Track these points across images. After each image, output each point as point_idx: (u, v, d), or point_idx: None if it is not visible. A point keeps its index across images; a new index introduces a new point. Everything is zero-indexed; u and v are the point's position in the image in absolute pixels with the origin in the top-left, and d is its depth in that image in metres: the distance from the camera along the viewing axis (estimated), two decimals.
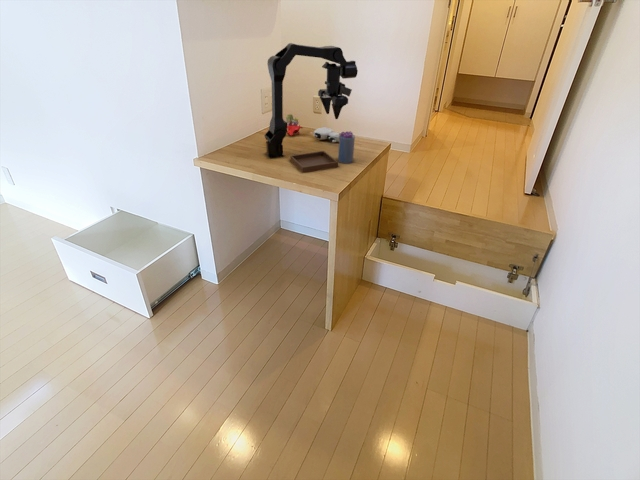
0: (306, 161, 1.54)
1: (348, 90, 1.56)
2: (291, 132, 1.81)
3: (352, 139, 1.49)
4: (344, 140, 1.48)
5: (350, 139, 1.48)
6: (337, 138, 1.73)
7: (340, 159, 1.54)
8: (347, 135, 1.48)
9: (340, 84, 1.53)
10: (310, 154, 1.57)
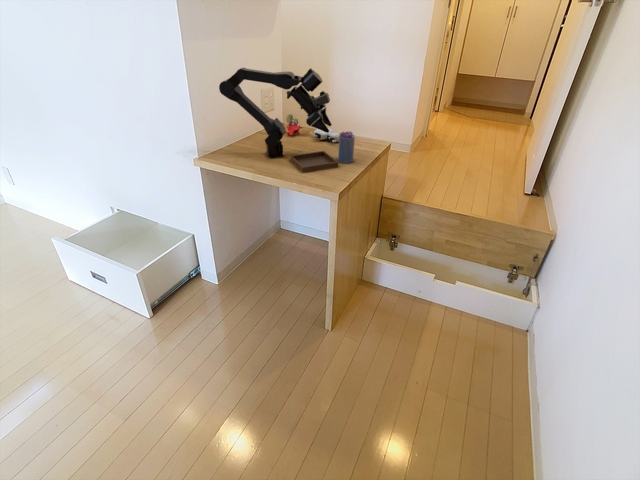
0: (306, 161, 1.54)
1: (322, 98, 1.41)
2: (291, 132, 1.81)
3: (352, 139, 1.49)
4: (344, 140, 1.48)
5: (350, 139, 1.48)
6: (337, 138, 1.73)
7: (340, 159, 1.54)
8: (347, 135, 1.48)
9: (310, 100, 1.42)
10: (310, 154, 1.57)
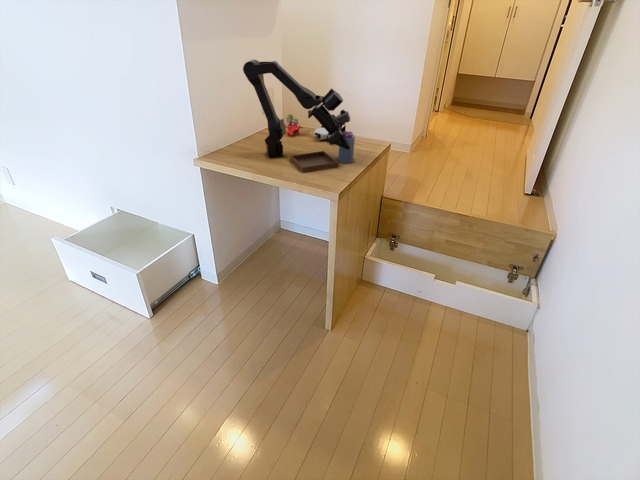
0: (306, 161, 1.54)
1: (343, 117, 1.44)
2: (291, 132, 1.81)
3: (352, 139, 1.49)
4: None
5: (350, 139, 1.48)
6: None
7: (340, 159, 1.54)
8: (347, 135, 1.48)
9: (331, 119, 1.45)
10: (310, 154, 1.57)
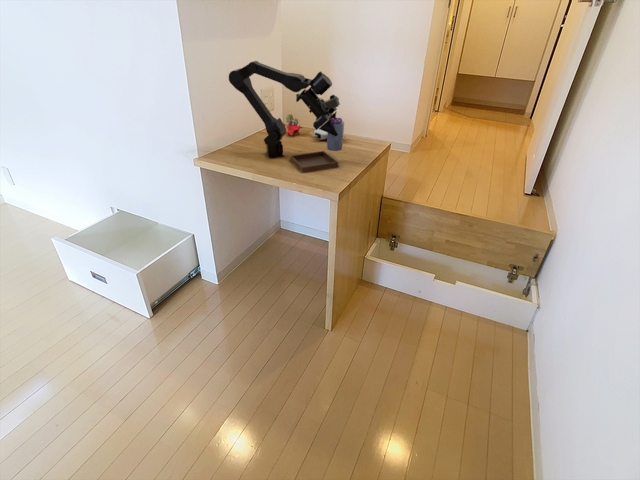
0: (306, 161, 1.54)
1: (331, 102, 1.39)
2: (291, 132, 1.81)
3: (340, 125, 1.43)
4: None
5: (338, 125, 1.43)
6: None
7: (328, 146, 1.49)
8: (335, 121, 1.43)
9: (319, 103, 1.40)
10: (310, 154, 1.57)
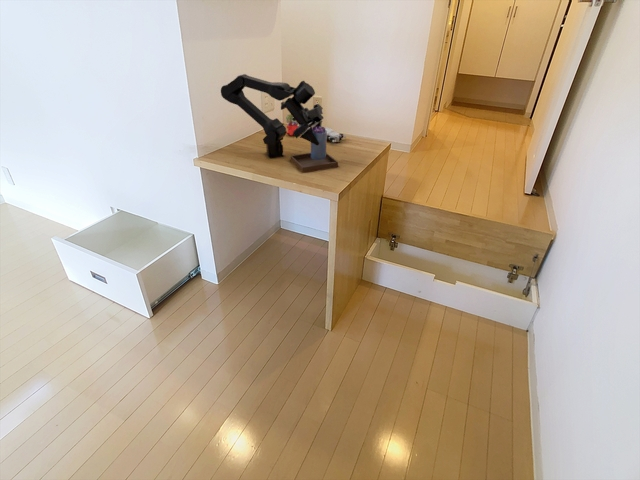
0: (306, 161, 1.54)
1: (312, 111, 1.40)
2: (291, 132, 1.81)
3: (322, 135, 1.43)
4: (314, 135, 1.44)
5: (319, 134, 1.43)
6: (337, 138, 1.73)
7: (311, 155, 1.50)
8: (317, 130, 1.43)
9: (301, 112, 1.42)
10: (310, 154, 1.57)
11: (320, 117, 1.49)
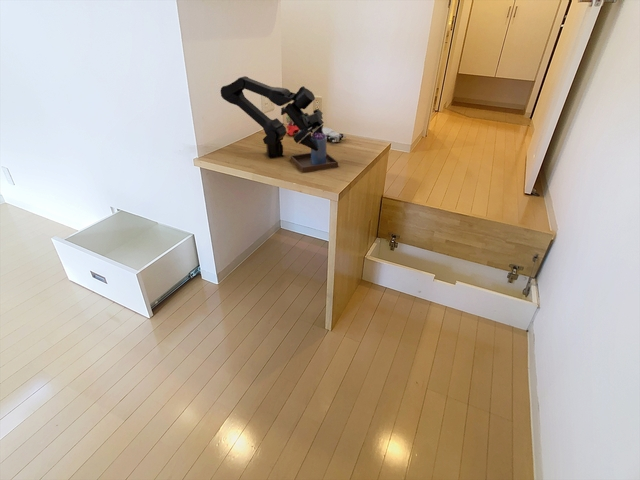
0: (306, 161, 1.54)
1: (312, 116, 1.41)
2: (291, 132, 1.81)
3: (322, 141, 1.45)
4: (314, 141, 1.45)
5: (319, 141, 1.45)
6: (337, 138, 1.73)
7: (311, 161, 1.51)
8: (317, 136, 1.45)
9: (301, 117, 1.43)
10: (310, 154, 1.57)
11: (320, 122, 1.50)
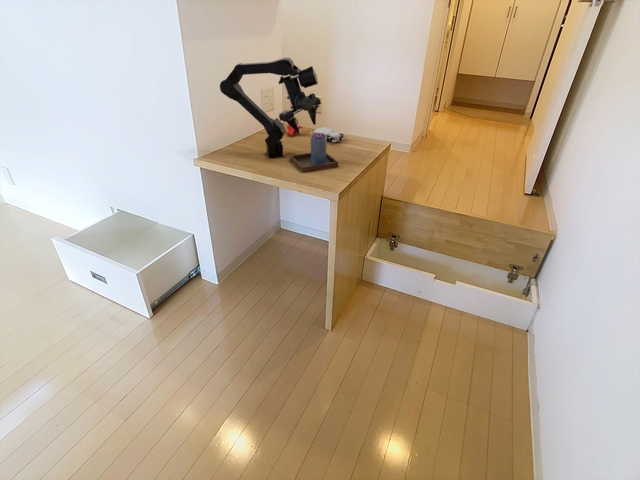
0: (306, 161, 1.54)
1: (302, 104, 1.40)
2: (291, 132, 1.81)
3: (322, 141, 1.45)
4: (314, 141, 1.45)
5: (319, 141, 1.45)
6: (337, 138, 1.73)
7: (311, 161, 1.51)
8: (317, 136, 1.45)
9: (294, 98, 1.42)
10: (310, 154, 1.57)
11: (316, 103, 1.48)
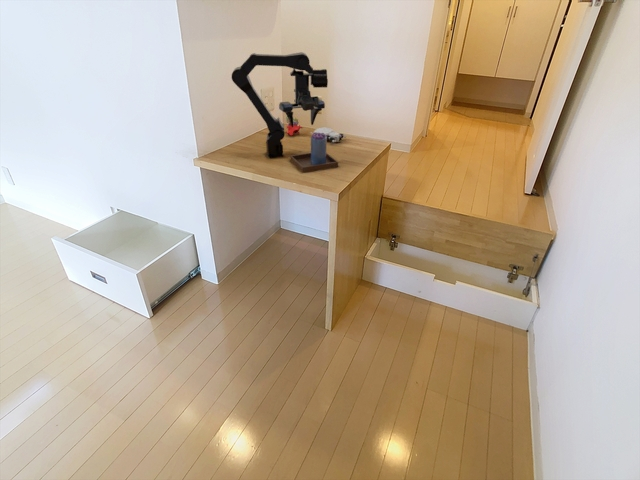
0: (306, 161, 1.54)
1: (302, 103, 1.42)
2: (291, 132, 1.81)
3: (322, 141, 1.45)
4: (314, 141, 1.45)
5: (319, 141, 1.45)
6: (337, 138, 1.73)
7: (311, 161, 1.51)
8: (317, 136, 1.45)
9: (298, 93, 1.44)
10: (310, 154, 1.57)
11: (319, 106, 1.49)
